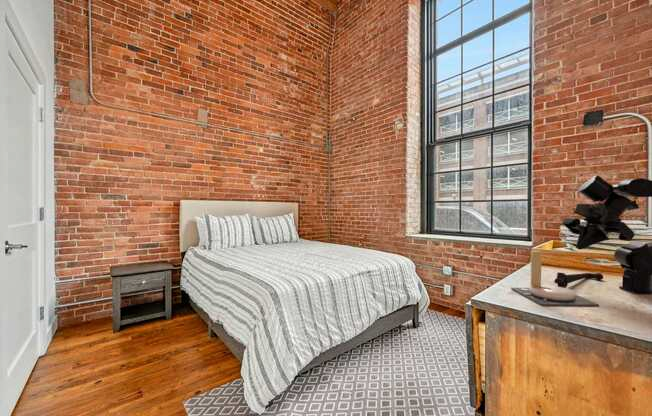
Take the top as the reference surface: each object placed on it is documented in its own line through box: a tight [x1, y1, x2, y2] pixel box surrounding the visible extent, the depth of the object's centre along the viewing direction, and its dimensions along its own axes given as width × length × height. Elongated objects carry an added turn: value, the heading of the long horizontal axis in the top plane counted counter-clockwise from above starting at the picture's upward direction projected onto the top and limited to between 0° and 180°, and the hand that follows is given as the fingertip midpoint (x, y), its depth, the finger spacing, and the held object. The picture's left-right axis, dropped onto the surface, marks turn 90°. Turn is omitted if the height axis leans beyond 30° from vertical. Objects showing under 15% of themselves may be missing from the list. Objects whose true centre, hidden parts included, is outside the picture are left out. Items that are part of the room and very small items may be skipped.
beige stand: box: [528, 250, 576, 301], centre depth 89 cm, size 11×11×12 cm
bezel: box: [510, 287, 600, 307], centre depth 89 cm, size 15×15×1 cm
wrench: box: [553, 272, 604, 288], centre depth 100 cm, size 5×5×30 cm
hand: (578, 248), depth 94 cm, fingers closed
